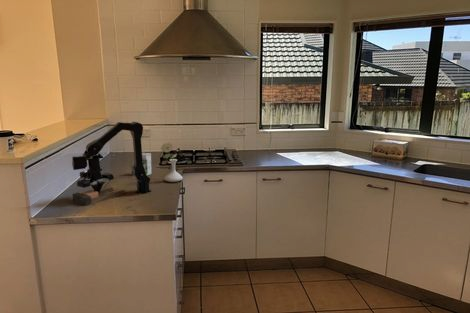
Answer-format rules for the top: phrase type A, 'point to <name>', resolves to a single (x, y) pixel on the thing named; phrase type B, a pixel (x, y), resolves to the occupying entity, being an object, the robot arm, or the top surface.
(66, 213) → the top surface
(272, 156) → the top surface
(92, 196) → the block
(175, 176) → the flower in vase
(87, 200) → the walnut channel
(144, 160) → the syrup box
